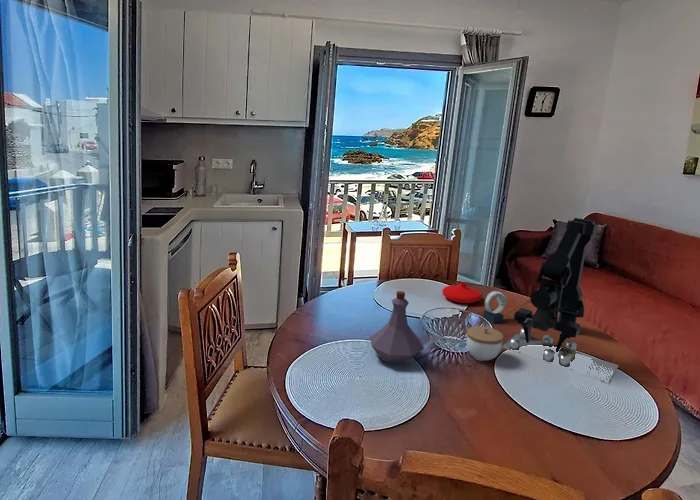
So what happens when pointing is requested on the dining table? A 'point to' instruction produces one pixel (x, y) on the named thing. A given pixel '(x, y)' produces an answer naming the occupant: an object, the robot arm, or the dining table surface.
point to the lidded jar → (484, 342)
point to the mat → (536, 342)
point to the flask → (397, 335)
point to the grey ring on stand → (495, 315)
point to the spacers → (548, 353)
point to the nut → (567, 351)
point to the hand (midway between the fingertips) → (542, 347)
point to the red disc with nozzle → (462, 293)
